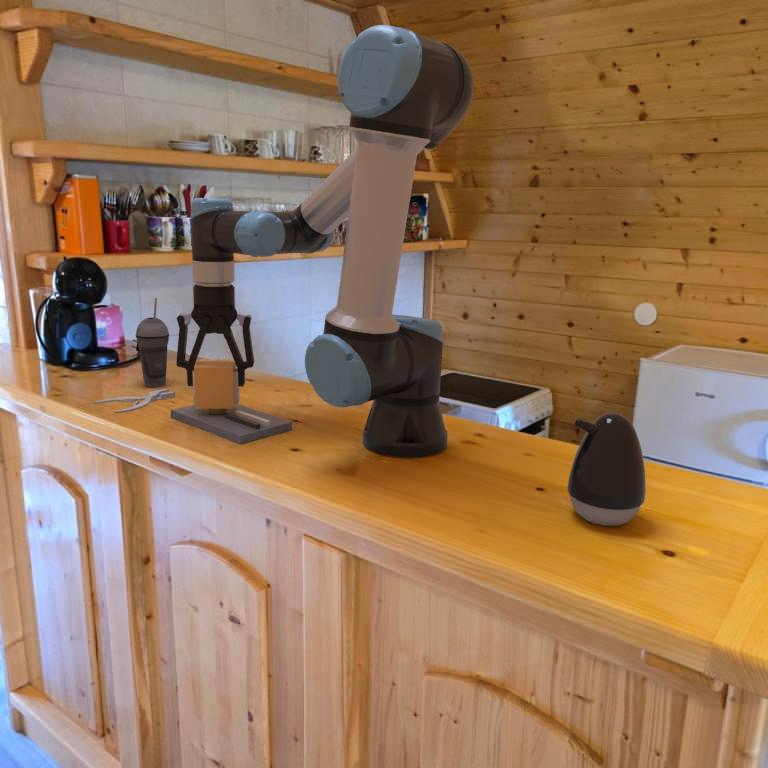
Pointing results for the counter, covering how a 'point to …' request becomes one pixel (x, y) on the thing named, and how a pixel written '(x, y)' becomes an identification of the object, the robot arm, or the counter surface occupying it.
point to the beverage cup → (153, 349)
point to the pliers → (148, 399)
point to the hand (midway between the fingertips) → (216, 402)
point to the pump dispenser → (608, 471)
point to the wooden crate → (214, 384)
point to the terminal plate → (233, 422)
